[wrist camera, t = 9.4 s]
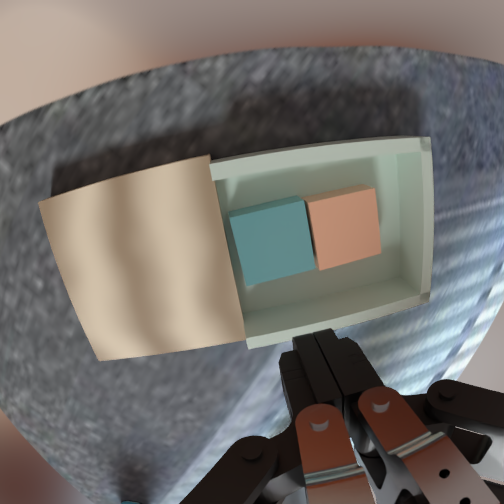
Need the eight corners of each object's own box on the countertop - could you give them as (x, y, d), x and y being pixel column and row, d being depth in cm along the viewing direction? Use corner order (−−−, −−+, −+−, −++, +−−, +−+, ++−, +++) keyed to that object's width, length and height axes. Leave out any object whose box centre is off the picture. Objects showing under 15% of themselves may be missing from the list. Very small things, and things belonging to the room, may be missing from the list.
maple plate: (210, 153, 21) (209, 155, 19) (245, 325, 26) (247, 339, 24) (50, 197, 21) (38, 202, 19) (105, 347, 26) (99, 360, 24)
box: (401, 135, 22) (430, 136, 18) (405, 281, 27) (429, 302, 23) (210, 160, 21) (209, 164, 18) (243, 320, 26) (248, 349, 22)
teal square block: (296, 195, 22) (303, 200, 20) (308, 258, 24) (315, 268, 22) (228, 211, 22) (229, 218, 20) (244, 274, 24) (246, 286, 22)
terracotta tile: (362, 183, 23) (374, 188, 21) (370, 244, 24) (381, 253, 22) (300, 197, 22) (308, 202, 21) (312, 260, 24) (319, 270, 22)
